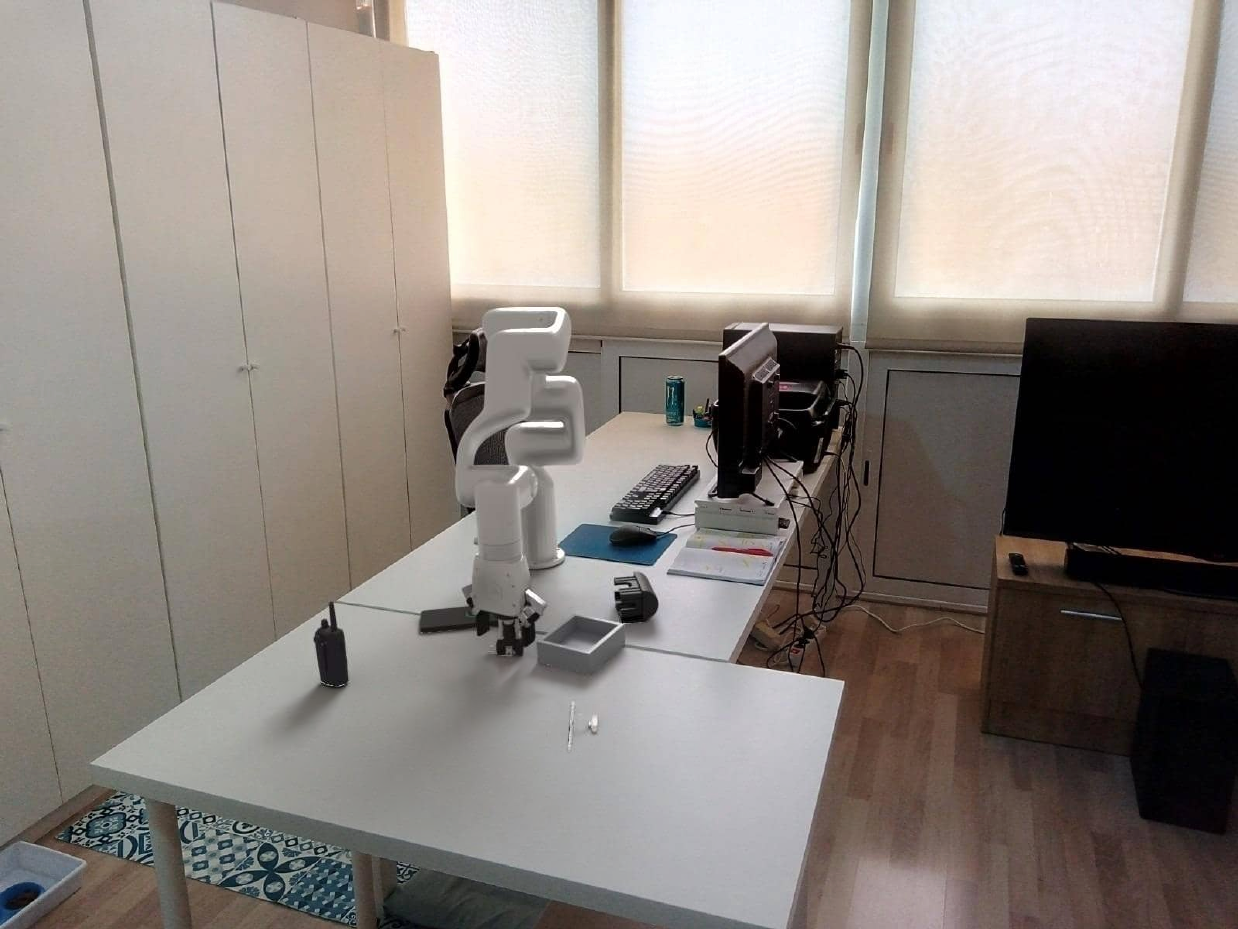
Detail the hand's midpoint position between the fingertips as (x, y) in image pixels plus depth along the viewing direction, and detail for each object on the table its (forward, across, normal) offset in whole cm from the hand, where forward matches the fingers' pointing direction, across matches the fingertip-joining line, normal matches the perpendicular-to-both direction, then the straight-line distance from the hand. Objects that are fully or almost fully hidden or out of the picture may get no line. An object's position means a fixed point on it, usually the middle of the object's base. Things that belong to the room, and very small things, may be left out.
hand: (505, 638), depth 158 cm
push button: (+3, 0, 0) cm, 3 cm away
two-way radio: (+3, -20, -22) cm, 30 cm away
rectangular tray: (+3, +12, +6) cm, 14 cm away
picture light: (+4, +24, -14) cm, 28 cm away
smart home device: (+4, -14, +9) cm, 17 cm away
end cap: (+3, +13, +25) cm, 28 cm away
